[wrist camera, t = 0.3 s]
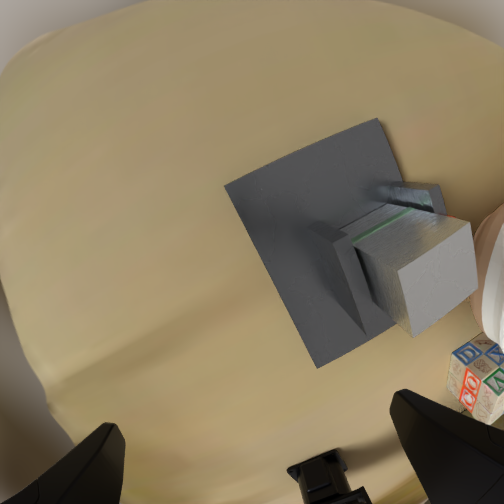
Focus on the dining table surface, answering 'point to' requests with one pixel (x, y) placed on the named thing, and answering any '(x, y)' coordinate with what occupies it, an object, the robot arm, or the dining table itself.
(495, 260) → the bowl
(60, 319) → the dining table surface
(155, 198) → the dining table surface
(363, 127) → the grey stepped stand
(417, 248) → the column
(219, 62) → the dining table surface
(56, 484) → the robot arm
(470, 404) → the stack of blocks
